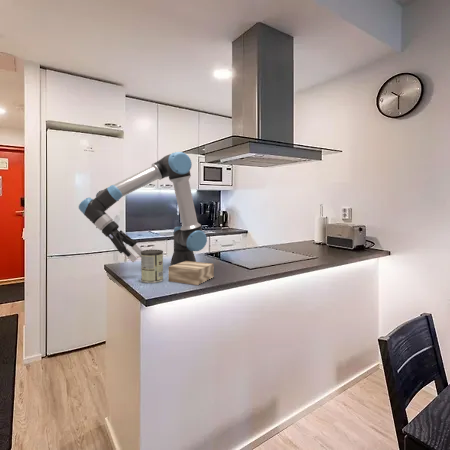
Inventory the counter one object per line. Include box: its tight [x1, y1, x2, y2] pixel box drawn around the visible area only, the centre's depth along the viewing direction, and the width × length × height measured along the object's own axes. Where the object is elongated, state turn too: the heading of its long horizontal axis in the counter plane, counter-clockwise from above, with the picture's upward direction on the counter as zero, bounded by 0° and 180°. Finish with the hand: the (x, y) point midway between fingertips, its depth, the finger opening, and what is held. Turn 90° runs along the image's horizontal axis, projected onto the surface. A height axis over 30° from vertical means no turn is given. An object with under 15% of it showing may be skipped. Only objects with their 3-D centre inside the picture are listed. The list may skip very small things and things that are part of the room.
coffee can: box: [140, 249, 164, 284], centre depth 147 cm, size 10×10×14 cm
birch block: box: [168, 261, 215, 286], centre depth 150 cm, size 16×16×7 cm
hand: (139, 257), depth 146 cm, fingers open, 13 cm apart
